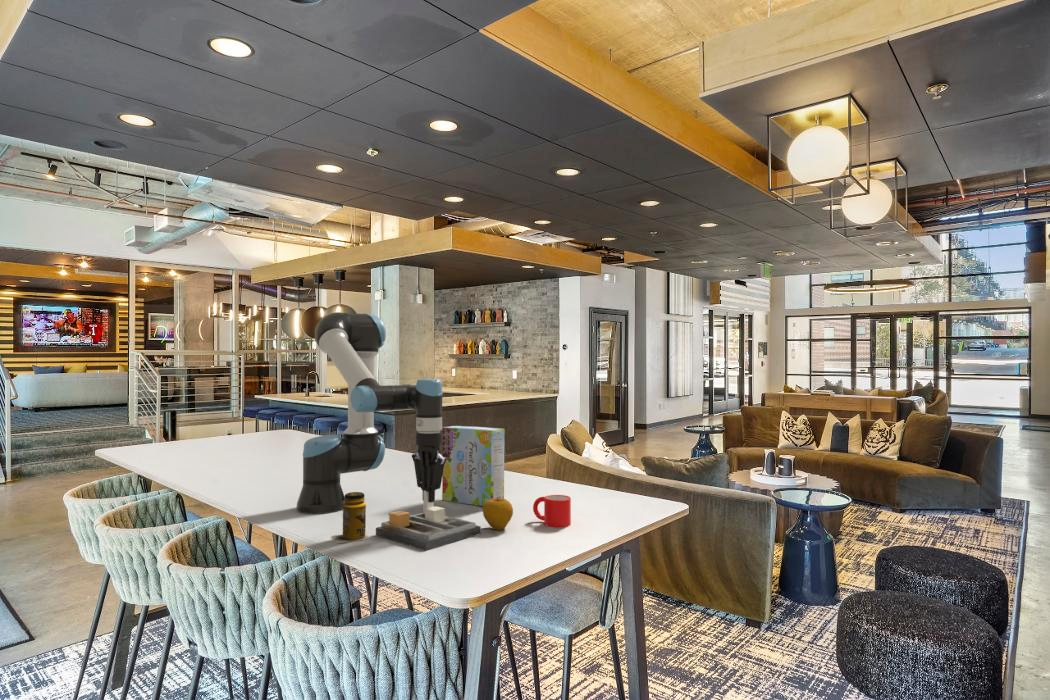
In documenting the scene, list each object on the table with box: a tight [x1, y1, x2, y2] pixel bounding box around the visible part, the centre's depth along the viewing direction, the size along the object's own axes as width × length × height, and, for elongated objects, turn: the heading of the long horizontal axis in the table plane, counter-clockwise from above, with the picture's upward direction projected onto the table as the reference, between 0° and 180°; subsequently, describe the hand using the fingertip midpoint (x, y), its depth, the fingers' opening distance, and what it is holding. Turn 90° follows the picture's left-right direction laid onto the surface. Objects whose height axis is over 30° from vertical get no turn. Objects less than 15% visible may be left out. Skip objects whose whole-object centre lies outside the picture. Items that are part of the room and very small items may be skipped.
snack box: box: [441, 425, 506, 507], centre depth 207 cm, size 22×9×26 cm, turn 58°
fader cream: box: [425, 505, 446, 522], centre depth 173 cm, size 4×4×4 cm
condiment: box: [331, 491, 370, 544], centre depth 164 cm, size 7×8×12 cm
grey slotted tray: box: [375, 512, 482, 551], centre depth 167 cm, size 21×20×3 cm
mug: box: [532, 494, 572, 529], centre depth 180 cm, size 8×12×8 cm, turn 65°
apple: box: [482, 498, 514, 531], centre depth 173 cm, size 9×9×9 cm
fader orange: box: [388, 510, 411, 527], centre depth 167 cm, size 4×4×4 cm
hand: (428, 512), depth 175 cm, fingers closed
